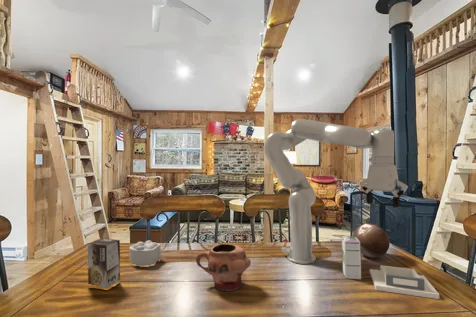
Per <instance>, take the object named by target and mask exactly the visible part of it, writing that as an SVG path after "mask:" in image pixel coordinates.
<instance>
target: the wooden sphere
mask: <svg viewBox="0 0 476 317" xmlns="http://www.w3.org/2000/svg"><path fill="white" fill-rule="evenodd" d="M352 236H354V237H357V238H358V240H359V241H360V255H363V256H365V257H367V258H373V259H375V258H380V257H382V256H384V255H385V254H387V252H388V251H389V249H390V245H391V243H390V242H391V240H390V238H389V235H388V233H387V231H385V229H384V228H382V227H381V226H380V225H378V224H376V223H370V222H369V223H363V224H360V225H359V226H357V228H355V230H354V231H353V235H352Z"/></svg>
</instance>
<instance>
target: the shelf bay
mask: <svg viewBox="0 0 476 317" xmlns="http://www.w3.org/2000/svg"><path fill="white" fill-rule="evenodd" d="M369 274H370V277H371V280H372V283H373V287H374V288H375V290H376V291H381V292H387V293H396V294H401V295H408V296H416V297H422V298H428V299H435V300H436V299H437V300H440V293H439V292H438V291H437V290H436V289H435V287H434V286H433V285H432V284H431V282H430V281H429V280H428V278H426V276H425V275H423V274H422V275H421V274H418V272H417V271H416V270H415V269H414V268H406V267H398V266H389V265H382V264H381V265H380V269H372V268H369Z"/></svg>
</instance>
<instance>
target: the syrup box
mask: <svg viewBox="0 0 476 317" xmlns="http://www.w3.org/2000/svg"><path fill="white" fill-rule="evenodd" d="M341 251H342V252H341V253H342V254H341V257H342V274H343V275H344V277H345V279H351V280H362V263H361V261H362V260H361V258H362V257H361V255H362V254H361V253H360V241H359V240H358V238H357V237H354V236H353V235H352V236H351V235H344V236H341Z"/></svg>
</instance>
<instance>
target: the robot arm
mask: <svg viewBox="0 0 476 317" xmlns="http://www.w3.org/2000/svg"><path fill="white" fill-rule="evenodd" d="M306 140H311V141H315V142H320V143H324V144H325V143H326V144H327V143H328V144H329V143H330V144H337V145H343V146H348V147H352V148H356V149H358V150H359V149H360V150H364V149H365V150H367V149H371V156H370V157H371V158H368V162H370V164H369V166H368V170H367V178H366V179H364V180H362V181H360V182H359V183H360V186H361V188H362V190H363V191H364V193H365V194H366V198H365V199H366V203H367V204H368V205H370V204H373V203H374V201H373V200H374V194H373V193H372V192H373V191H381V192H391V194H393V197H392V208H399V207H400V205H401V204H400V203H401V202H400V201H401V200H400V199H401V197H402V195H404V194H406V191H407V189H408V188H409V186H408V185H407V184H406V183H404V182H402V181H399V176H398V169H397V165H396V164H395V132H394V130H393V129H376V130H373V131H369V130H367V129H364V128H360V127H354V126H348V125H342V124H341V125H340V124H334V123H331V122H324V121H318V120H312V119H306V118H297V119H295V120H294V121H293V122H292V123H291V126H290V129H289V130H287V131H286V132H282V131H274V132H272V133H270V134H269V135H268V136H267V138H266V139H265V142H264V148H263V149H264V154H265V156H266V159H267V160H268V162H269V164H270V166H271V168H272V170H273V172H274V174H275V175H276V178H277V179H278V181H279V182H280V185H281V186H282V187H283V188H284V189H288V190H290V189H291V191H292V192H291V193H290V194H289V196H288V208H289V220H290V221H289V224H290V230H289V231H290V232H289V233H290V246H289V247H283V246H282V247H281V249H280V250H281V251H280V252H282V253H283V254H287V259H288V261H290V262H292V263H295V264H300V265H308V264H309V265H310V264H314V263H315V262H316V261H317V256H316V255H315V254H313V224H312V223H313V220H312V211H311V207H312V206H313V205H314V204H315V203H316V200H317V199H316V198H317V194H316V192H315V190H314V189H313V187H312V185H311V184H310V182H309V180H308V178H307V177H306V175H305V173H304V172H303V171H302V170H301V169H299V168H297V167H293V165H292V164H291V162H290V160H289V158H288V157H287V156H286V154H285V153H284V151H288V150H290V149H293V148H294V147H296V146H298V145H299V144H301V143H303V142H304V141H306ZM399 187H400V188H401V189H400V190H398V189H399Z"/></svg>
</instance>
